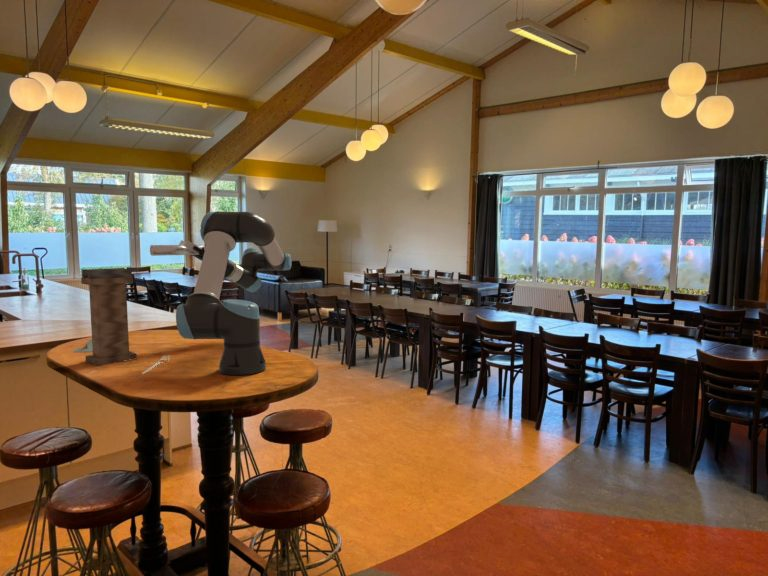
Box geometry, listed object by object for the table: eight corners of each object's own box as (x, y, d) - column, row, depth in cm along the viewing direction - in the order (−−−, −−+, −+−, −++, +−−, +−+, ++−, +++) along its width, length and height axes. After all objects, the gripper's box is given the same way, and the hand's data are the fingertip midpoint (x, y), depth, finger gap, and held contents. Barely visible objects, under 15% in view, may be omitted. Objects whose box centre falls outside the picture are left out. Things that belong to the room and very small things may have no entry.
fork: (137, 376, 173) (136, 370, 172) (162, 360, 192) (161, 355, 192) (147, 376, 173) (146, 370, 172) (171, 360, 192) (170, 355, 192)
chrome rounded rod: (198, 254, 218) (198, 244, 218) (203, 255, 216) (203, 245, 215) (149, 255, 204) (149, 244, 204) (154, 256, 201) (154, 245, 201)
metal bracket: (89, 332, 217) (126, 332, 217) (92, 345, 219) (128, 345, 219) (70, 349, 204) (109, 349, 204) (73, 362, 206) (112, 362, 206)
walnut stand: (126, 355, 200) (122, 267, 197) (136, 359, 193) (132, 268, 190) (85, 361, 190) (80, 269, 187) (95, 365, 183) (90, 270, 180)
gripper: (236, 279, 220) (188, 251, 204) (215, 277, 232) (169, 251, 216) (243, 263, 222) (197, 234, 206) (223, 261, 234) (177, 235, 218)
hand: (182, 243), depth 211 cm, fingers closed on chrome rounded rod, 4 cm apart
